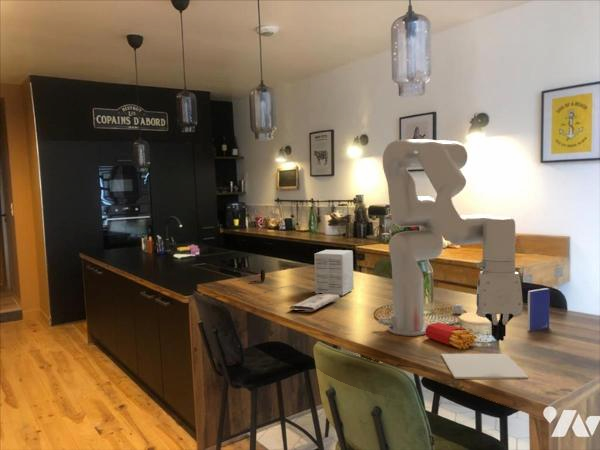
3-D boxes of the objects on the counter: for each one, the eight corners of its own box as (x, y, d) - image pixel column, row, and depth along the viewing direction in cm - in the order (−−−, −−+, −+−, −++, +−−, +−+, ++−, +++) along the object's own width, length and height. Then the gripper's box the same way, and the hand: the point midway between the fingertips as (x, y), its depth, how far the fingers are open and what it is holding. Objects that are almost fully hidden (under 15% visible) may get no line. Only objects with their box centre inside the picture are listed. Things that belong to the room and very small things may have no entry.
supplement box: (326, 287, 228) (325, 249, 227) (354, 289, 222) (353, 250, 221) (314, 293, 216) (313, 253, 215) (343, 295, 210) (342, 254, 209)
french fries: (443, 320, 154) (478, 330, 143) (443, 334, 154) (479, 344, 143) (421, 326, 149) (456, 336, 138) (422, 340, 149) (457, 351, 138)
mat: (454, 378, 120) (454, 376, 120) (441, 355, 135) (441, 353, 135) (528, 378, 118) (528, 376, 118) (506, 355, 134) (506, 353, 134)
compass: (247, 284, 242) (246, 269, 241) (263, 282, 244) (262, 267, 244) (250, 287, 234) (250, 271, 234) (267, 285, 237) (266, 270, 236)
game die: (465, 314, 176) (465, 305, 176) (454, 314, 176) (454, 306, 176) (460, 311, 180) (460, 303, 180) (450, 312, 180) (450, 304, 179)
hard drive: (549, 327, 158) (550, 288, 156) (531, 331, 154) (531, 291, 153) (545, 326, 159) (546, 287, 158) (526, 330, 156) (527, 290, 155)
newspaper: (312, 298, 209) (312, 292, 209) (339, 301, 203) (339, 295, 203) (284, 311, 189) (284, 304, 189) (313, 314, 183) (313, 307, 183)
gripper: (471, 269, 121) (471, 344, 123) (535, 268, 120) (535, 343, 122) (464, 264, 129) (464, 334, 130) (524, 263, 128) (523, 334, 129)
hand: (498, 338), depth 126 cm, fingers closed
